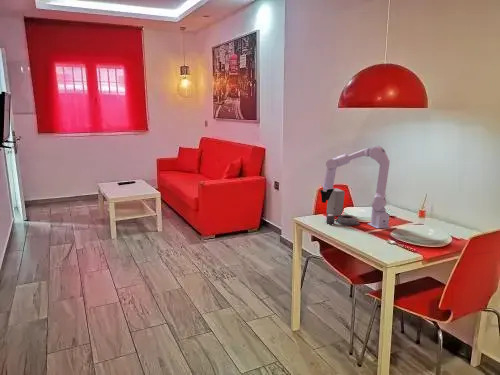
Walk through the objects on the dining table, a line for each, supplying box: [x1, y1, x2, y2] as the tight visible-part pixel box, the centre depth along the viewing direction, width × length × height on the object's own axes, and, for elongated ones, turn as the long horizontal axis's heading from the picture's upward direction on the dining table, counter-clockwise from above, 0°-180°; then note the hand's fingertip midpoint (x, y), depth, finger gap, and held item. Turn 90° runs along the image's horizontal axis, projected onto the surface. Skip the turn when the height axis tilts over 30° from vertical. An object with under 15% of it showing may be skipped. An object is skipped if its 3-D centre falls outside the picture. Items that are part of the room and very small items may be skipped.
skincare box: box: [326, 187, 346, 217], centre depth 237 cm, size 8×7×16 cm
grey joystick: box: [334, 214, 361, 227], centre depth 220 cm, size 10×10×4 cm
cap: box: [326, 213, 336, 226], centre depth 218 cm, size 4×4×5 cm
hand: (325, 201), depth 228 cm, fingers open, 7 cm apart
